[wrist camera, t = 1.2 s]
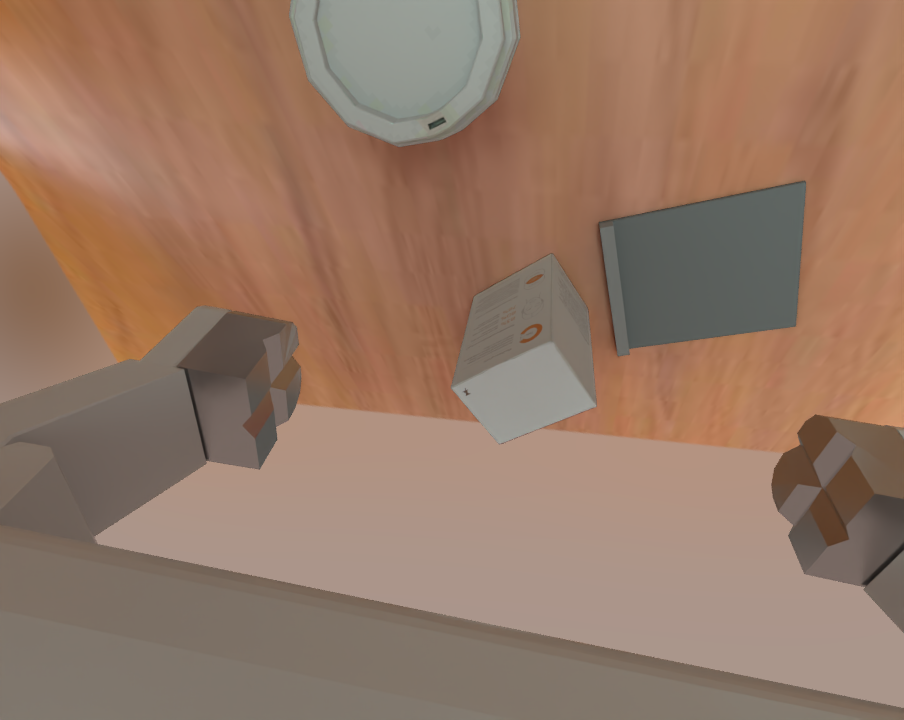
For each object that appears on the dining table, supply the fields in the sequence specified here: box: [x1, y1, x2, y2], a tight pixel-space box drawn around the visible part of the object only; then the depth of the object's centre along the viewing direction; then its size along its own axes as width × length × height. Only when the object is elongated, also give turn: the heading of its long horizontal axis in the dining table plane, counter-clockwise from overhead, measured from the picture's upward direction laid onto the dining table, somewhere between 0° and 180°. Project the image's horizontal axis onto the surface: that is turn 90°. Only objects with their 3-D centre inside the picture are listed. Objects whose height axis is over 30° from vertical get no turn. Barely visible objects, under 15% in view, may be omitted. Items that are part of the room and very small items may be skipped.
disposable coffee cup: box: [289, 0, 520, 147], centre depth 29 cm, size 11×11×15 cm
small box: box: [451, 253, 597, 444], centre depth 42 cm, size 8×6×13 cm
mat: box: [599, 181, 806, 356], centre depth 43 cm, size 14×12×1 cm
